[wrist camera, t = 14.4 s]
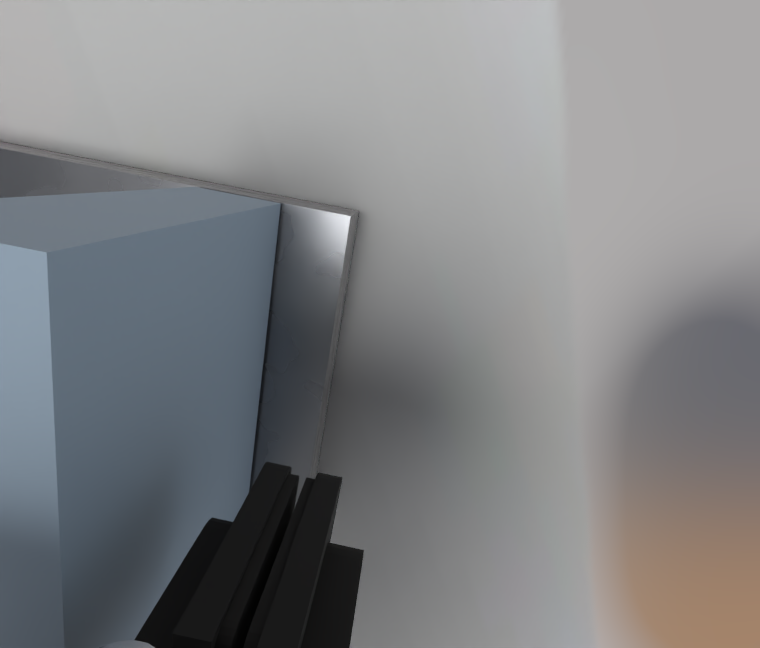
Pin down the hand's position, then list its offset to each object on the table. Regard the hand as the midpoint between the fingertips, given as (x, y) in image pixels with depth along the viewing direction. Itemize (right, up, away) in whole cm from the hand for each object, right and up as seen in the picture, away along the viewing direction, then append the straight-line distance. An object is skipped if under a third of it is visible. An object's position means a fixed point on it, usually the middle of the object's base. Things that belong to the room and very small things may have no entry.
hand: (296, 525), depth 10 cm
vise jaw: (-3, +2, +5) cm, 7 cm away
